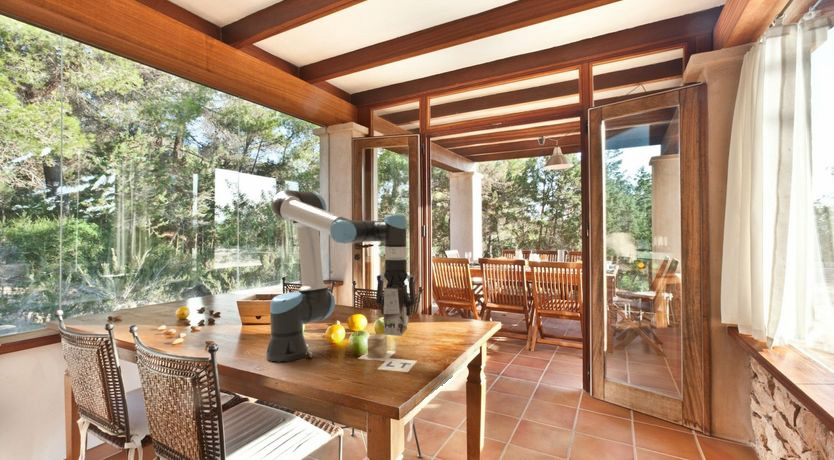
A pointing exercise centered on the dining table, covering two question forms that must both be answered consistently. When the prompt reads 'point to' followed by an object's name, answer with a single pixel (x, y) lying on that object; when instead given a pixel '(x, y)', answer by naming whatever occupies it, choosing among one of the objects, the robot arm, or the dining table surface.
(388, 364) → the tile
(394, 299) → the coffee box
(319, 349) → the dining table surface
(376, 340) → the oak block
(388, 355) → the code tile
